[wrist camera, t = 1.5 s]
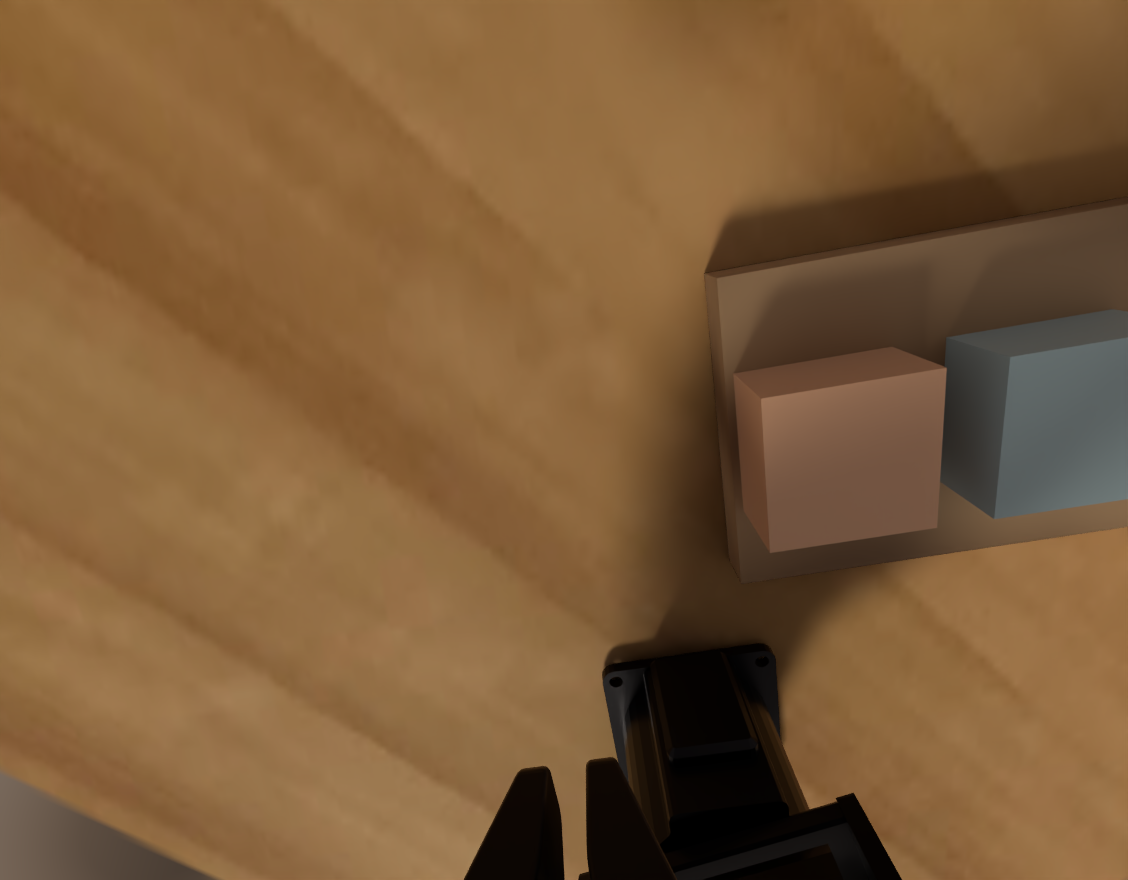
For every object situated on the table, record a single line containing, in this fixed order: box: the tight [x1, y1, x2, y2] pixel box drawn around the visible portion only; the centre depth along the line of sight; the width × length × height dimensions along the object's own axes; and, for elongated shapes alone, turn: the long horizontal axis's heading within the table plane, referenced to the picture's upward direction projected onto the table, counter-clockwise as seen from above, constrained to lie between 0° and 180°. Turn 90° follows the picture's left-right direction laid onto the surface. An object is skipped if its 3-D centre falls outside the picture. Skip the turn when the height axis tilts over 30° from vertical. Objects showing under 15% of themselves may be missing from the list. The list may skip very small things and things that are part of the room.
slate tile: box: [940, 309, 1128, 519], centre depth 16 cm, size 4×4×2 cm
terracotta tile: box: [733, 347, 947, 553], centre depth 16 cm, size 4×4×2 cm
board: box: [704, 197, 1128, 584], centre depth 18 cm, size 10×14×2 cm
